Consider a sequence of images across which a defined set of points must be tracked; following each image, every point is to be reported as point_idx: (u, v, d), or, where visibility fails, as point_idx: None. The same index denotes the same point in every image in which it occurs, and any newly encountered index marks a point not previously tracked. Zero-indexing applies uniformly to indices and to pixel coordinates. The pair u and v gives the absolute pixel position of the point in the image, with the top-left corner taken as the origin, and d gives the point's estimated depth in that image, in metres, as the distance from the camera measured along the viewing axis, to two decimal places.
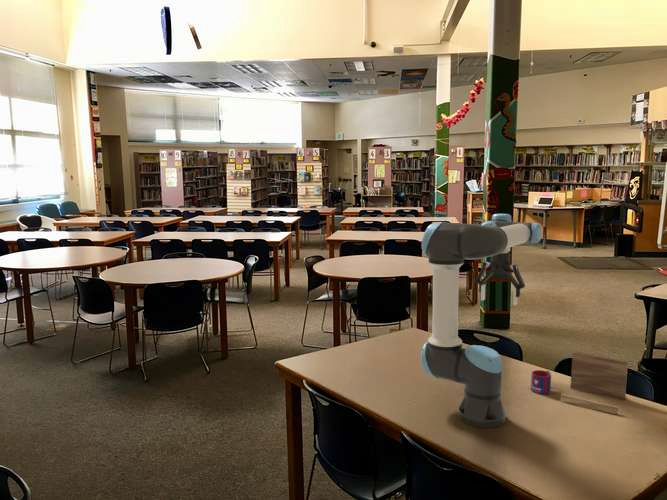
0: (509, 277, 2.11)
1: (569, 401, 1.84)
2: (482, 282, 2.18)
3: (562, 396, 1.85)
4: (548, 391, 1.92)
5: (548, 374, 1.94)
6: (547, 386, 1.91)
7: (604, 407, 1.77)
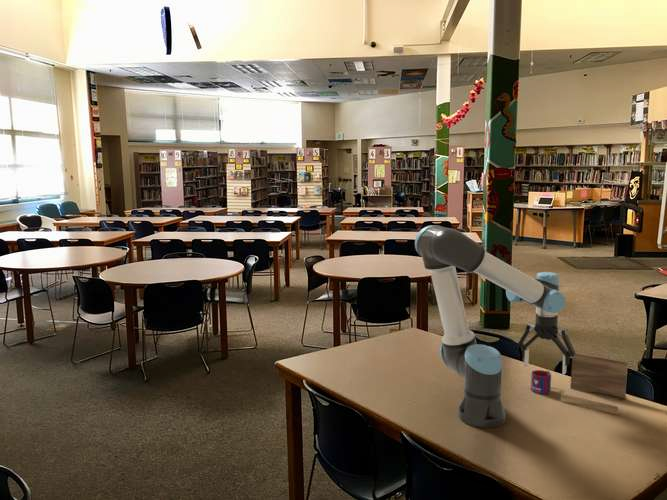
0: (557, 343, 1.90)
1: (569, 401, 1.84)
2: (526, 347, 1.97)
3: (562, 396, 1.85)
4: (548, 391, 1.92)
5: (548, 374, 1.94)
6: (547, 386, 1.91)
7: (604, 407, 1.77)
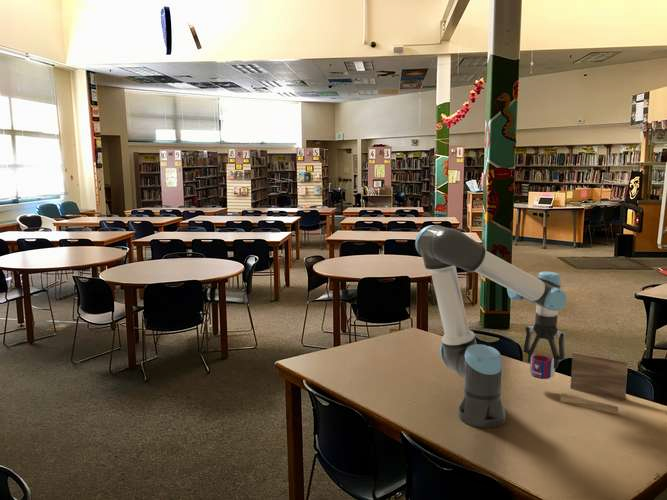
0: (551, 345, 1.90)
1: (569, 401, 1.84)
2: (531, 351, 1.95)
3: (562, 396, 1.85)
4: (548, 376, 1.91)
5: (549, 359, 1.93)
6: (548, 371, 1.90)
7: (604, 407, 1.77)
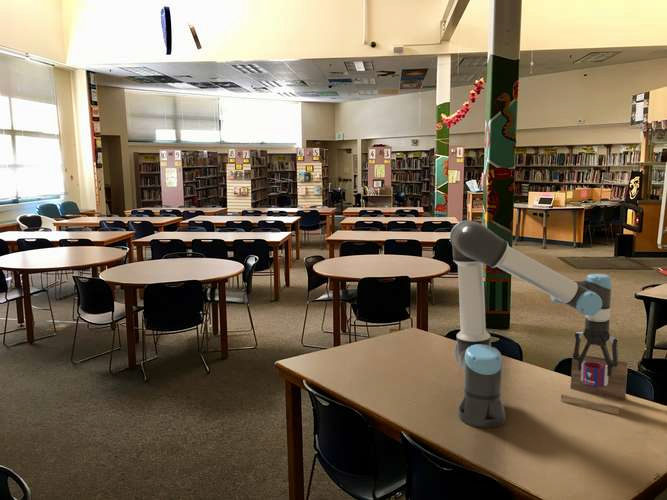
0: (604, 351, 1.80)
1: (569, 401, 1.84)
2: (582, 358, 1.84)
3: (562, 396, 1.85)
4: (602, 384, 1.80)
5: (601, 366, 1.83)
6: (601, 378, 1.79)
7: (604, 407, 1.77)
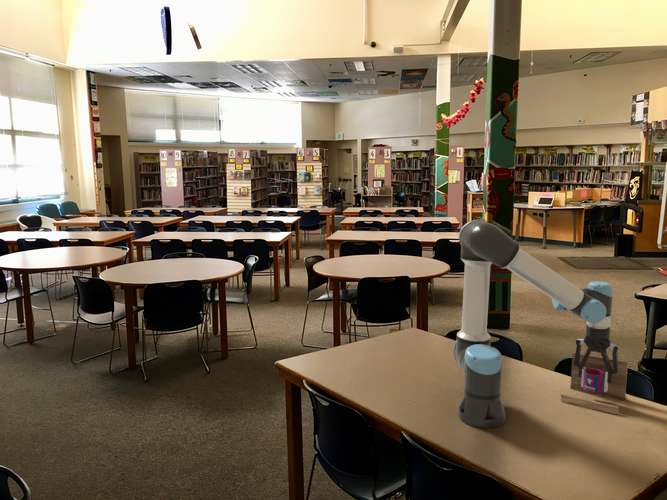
0: (604, 358, 1.82)
1: (569, 401, 1.84)
2: (582, 365, 1.87)
3: (562, 396, 1.85)
4: (602, 390, 1.82)
5: (601, 372, 1.85)
6: (601, 385, 1.82)
7: (604, 407, 1.77)
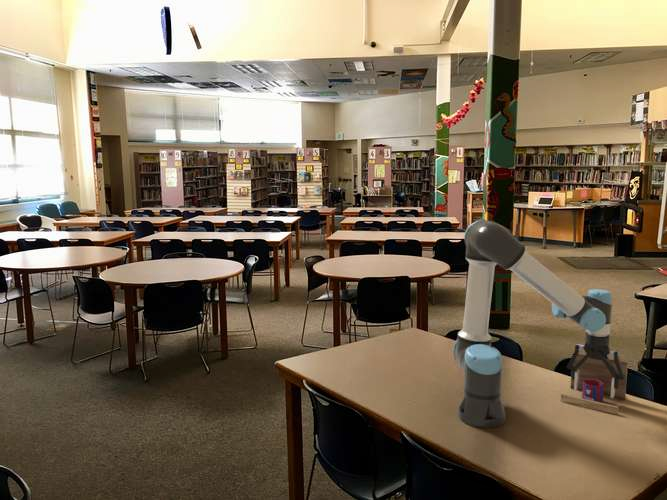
0: (607, 365, 1.82)
1: (569, 401, 1.84)
2: (576, 368, 1.88)
3: (562, 396, 1.85)
4: (601, 401, 1.83)
5: (600, 383, 1.85)
6: (600, 396, 1.82)
7: (604, 407, 1.77)
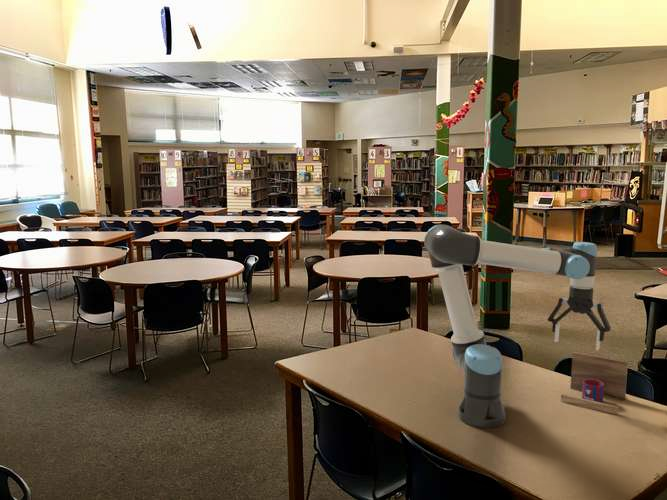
0: (592, 317, 1.79)
1: (569, 401, 1.84)
2: (557, 321, 1.86)
3: (562, 396, 1.85)
4: (601, 401, 1.83)
5: (600, 383, 1.85)
6: (600, 396, 1.82)
7: (604, 407, 1.77)
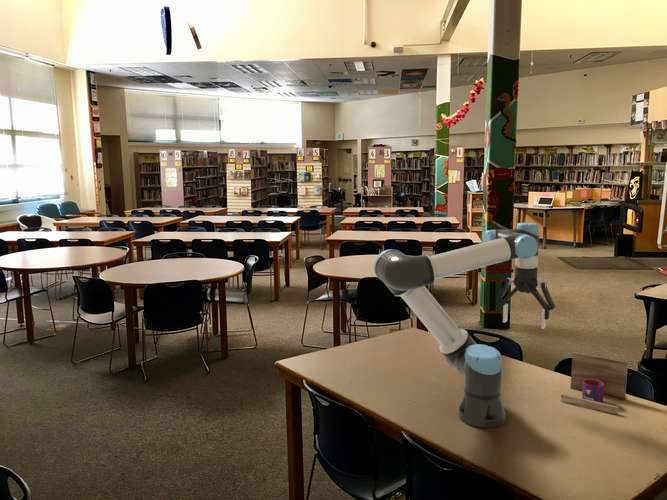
0: (536, 296, 1.82)
1: (569, 401, 1.84)
2: (504, 301, 1.89)
3: (562, 396, 1.85)
4: (601, 401, 1.83)
5: (600, 383, 1.85)
6: (600, 396, 1.82)
7: (604, 407, 1.77)
